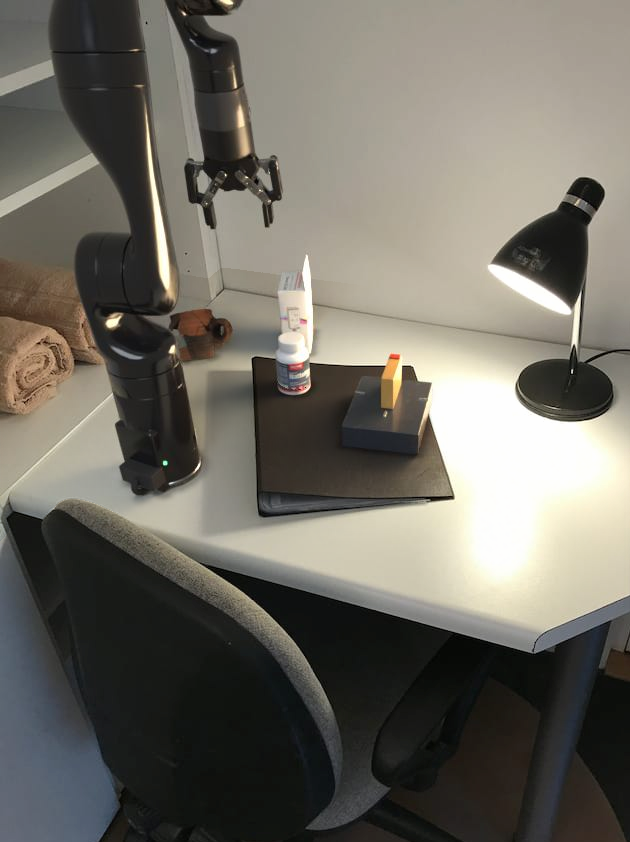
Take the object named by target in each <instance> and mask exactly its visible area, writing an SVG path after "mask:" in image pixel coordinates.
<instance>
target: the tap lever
mask: <svg viewBox="0 0 630 842" xmlns="http://www.w3.org/2000/svg"><path fill="white" fill-rule="evenodd" d="M402 362H403V356H402V355H401V354H398V353H390V354H389V356H388V359H387V362H386V365H385V367H384V369H383V372H382V375H381V377H380V378H381V408H387V409H393V408H394V405H395V402H396V399H397V396H398V393H399V389H400V386H401V380H402V369H403V363H402Z"/></svg>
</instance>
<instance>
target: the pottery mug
mask: <svg viewBox="0 0 630 842" xmlns="http://www.w3.org/2000/svg"><path fill="white" fill-rule="evenodd" d="M169 320H170V323H169V325H168V327H167V328H168V329H170V330H171V331H172V332H173V333H174V331H175V330H176V331H177V332H178V333H179V335H181V336H183V337H182V338H183V339H184V341H185V344H186V345H185V346H183V347H179V349H180V355H181V361H182V362H185V361H191V360H192V361H193V360H202V359H210V358H214V356H215V352H214V351H215V347H216V348H217V350H220V349H221V348H222V347H223V344H226V343H227V342H228V341H230V339H231V337H232V335H233V331H234V329H233V326H232V323H231V322H230V321H229V320H228V319H227V318H224V317H217V318H216V317H215V316H214V315H213V310H212V309H211V308H200V309H199V308H198V309H193V310H186V311H181V312H177V313H173V314H171V315H169ZM222 328H223V332H222Z"/></svg>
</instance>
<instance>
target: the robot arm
mask: <svg viewBox="0 0 630 842" xmlns="http://www.w3.org/2000/svg"><path fill="white" fill-rule="evenodd" d="M163 1H164V3H165V6H166V8H167V10H168V13H169V15H170V17H171V19H172V22H173V24H174V27H175V28H176V31H177V34H178V36H179V38H180V41H181V43H182V46H183V48H184V51H185V53H186V56H187V59H188V65H189V66H188V67H189V71H190V77H191V83H192V88H193V100H194V101H193V102H194V111H195V115H196V120H197V126H198V127H197V128H198V131H199V132H198V133H199V137H200V142H201V149H202V155H203V160H202V161H201V160H200V161H199V160H194V158H192V157H189V158H187V159H186V162H185V164H184V166H183V170H184V172H183V173H184V178H185V185H186V192H187V199H188V202H189V203H190V204H193V205H194V204H197V205H200V206H201V208H202V212H203V217H204V223H205V225H206V226H207V227H210V230H216V229H217V226H218V222H217V216H216V210H215V205H214V200H213V199H214V198H215V197H216V194H217V193H218V191H219V190H223V192H225V193H226V192H231V191H237V192H245V191H246V190H248V191H249V192H250V193H251V194H252V195H253V196H256V197H257V198H258V199H259V201H261V202H262V203H261V204H262V205H261V208H262V210H261V211H262V216H263V224H264V228H266V229H269V228H270V227H271V225H272V224H273V223H274V219H275V214H274V205H273V203H274V202H276V201H277V202H280V201H282V200H283V194H284V186H283V182H282V175H281V170H280V163H279V158H278V156H276V155H275V154H272V155H270V156H269V157H268V158H259V157H258V155H257V154H256V147H255V140H254V133H253V125H252V119H251V115H252V111H251V107H250V103H249V98H248V94H247V90H246V86H245V80H244V72H243V65H242V64H243V63H242V57H241V51H240V45H239V43H238V41H237V39H236V38H235V37H234V36H232V35H231V34H227V33H226V32H222V31H220V30H217V29H215V28H213V27H212V26H210V24H209V22H208V21H207V20H206V18H205V17H229V16H232V15H234V14H235V13H237V12H238V11H239V10H240V9H241V8H242V5H243V4H244V2H245V0H163ZM140 9H141V8H140V3H139V0H51V4H50V7H49V12H48V17H47V25H46V32H47V33H46V34H47V35H46V36H47V43H48V49H49V51H50V52H49V54H50V59H51V64H52V70H53V74H54V81H55V85H56V91H57V95H58V100H59V102H60V106H61V108H62V110H63V113H64V114H65V116H66V118H67V120H68V122H69V123H70V124H71V126H72V128H73V129H74V131H75V132H76V134H77V135H78V136H79V138H80V139H81V140H82V142H83V143H84V145H85V146H86V147H87V149H88V150H89V152H90V153H91V154H92V155H93V157H94V158H95V159H96V161H97V162H98V163H99V165H100V166H101V167H102V168H103V170H104V171H105V173H106V174H107V176H108V177H109V178H110V181H111V182H112V184H113V186H114V187H115V189H116V191H117V193H118V195H119V198H120V200H121V202H122V206H123V208H124V212H125V215H126V218H127V219H126V220H127V222H128V226H129V231H130V232H125V231H109V230H107V231H105V230H104V231H103V230H100V231H99V230H98V231H97V230H95V231H89V232H86V233H85V234H84V235H82V237H81V238H80V239H78V242H77V244H76V247H75V248H74V255H73V275H74V281H75V286H76V290H77V293H78V297H79V300H80V303H81V307H82V309H83V312H84V315H85V318H86V321H87V324H88V327H89V330H90V333H91V337H92V340H93V344H94V347H95V349H96V350H97V352H98V354H99V355H100V356H101V358H102V359H103V362H104V366H105V369H106V373H107V376H108V381H109V384H110V388H111V392H112V396H113V400H114V404H115V408H116V412H117V415H118V419H119V420H118V421H116V422H115V423H114V428H115V432H116V435H117V439H118V443H119V446H120V450H121V454H122V458H123V462H122V463H121V464H120V465H118V469H119V473H120V476H121V480H122V481H123V482H126V483H129V484H131V485H130V488H131V492H132V494H134V495H136V496H146V494H147V490H149V491H151V492H156V491H159V492H161V493H165V492H167V491H168V490H169V489H171V488H176V487H178V486H181V485H184V484H185V483H188V482H189V481H191V480H192V479H194V478H195V477H196V476H197V475H198V474H199V472H200V470H201V468H202V457H201V454H200V451H199V445H198V434H197V432H196V431H197V428H196V427H195V423H194V419H193V414H192V409H191V403H190V399H189V393H188V387H187V383H186V378H185V377H186V376H185V372H184V367H183V361H182V360H181V355H180V349H179V348H180V345H179V341H178V338H177V335H175V333H174V331H173V332H172V331H171V330H170V329H168V328H169V327H167V326H166V325H163V324H160V323H158V322H156V321H154V320H152V319H150V318H148V317H164V316H167V315H169V314H170V313H172V312H173V311H174V310H175V308H176V306H177V304H178V300H179V296H180V285H181V283H180V267H179V259H178V254H177V248H176V243H175V238H174V234H173V228H172V223H171V218H170V214H169V209H168V203H167V200H166V194H165V190H164V184H163V179H162V173H161V167H160V161H159V160H160V159H159V152H158V145H157V136H156V128H155V118H154V109H153V99H152V88H151V77H150V72H149V71H150V69H149V63H148V56H147V55H148V54H147V51H146V49H147V47H146V42H145V36H144V31H143V23H142V17H141V10H140ZM260 169H262V170H264V173H265V174H266V175H268V176H269V177H270V183H271V190H270V189H269V188H268V187H267V186H266V184H264V182H263V180H262V179H261V178H260V177H259V175H257V174H258V173H259V170H260ZM201 171H203V172H204V174H205V175H206V176H208V178H209V179H210V182H209V184H208V186H207V188H206V189H205V192H200V191H199V183H198V178H199V176H200V175H201ZM139 487H140V488H139Z"/></svg>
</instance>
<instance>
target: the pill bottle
mask: <svg viewBox="0 0 630 842" xmlns="http://www.w3.org/2000/svg"><path fill="white" fill-rule="evenodd" d="M277 345H278V348H277V349H276V351H275V354H274V357H275V370H276V382H277V381H278V383H279V384H280V385H281V386H283V387H285V388H287V389H293V390H295V389H296V390H297V391H288V390H284V389H282V388H280V387H279V386H278V385H277V389H278V390H279V392H281V393H282V394H284V395H287V396H298V395H302V394H305V393H307V392H309V390H310V388H311V371H310V367H311V366H310V354H309V353H308V350H307V349H306V348H305V347H304V337H303V335H302V334H300V333H297V332H287V333H283V334H282V333H281V334H280V335H278V337H277ZM278 383H277V384H278ZM305 387H306V388H305ZM298 389H301V390H298Z"/></svg>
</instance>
